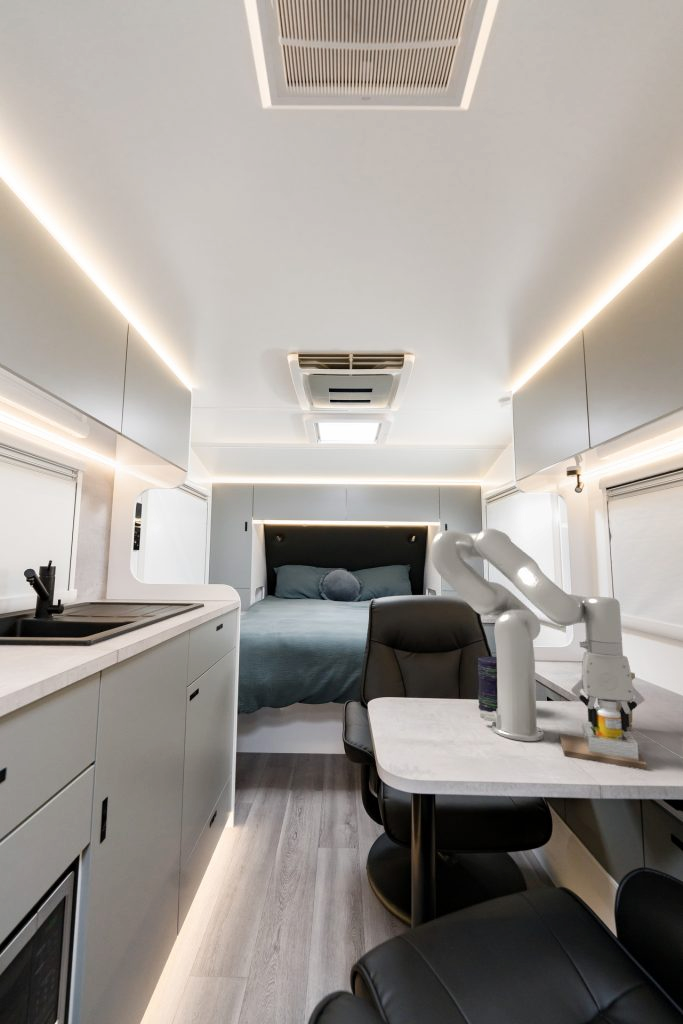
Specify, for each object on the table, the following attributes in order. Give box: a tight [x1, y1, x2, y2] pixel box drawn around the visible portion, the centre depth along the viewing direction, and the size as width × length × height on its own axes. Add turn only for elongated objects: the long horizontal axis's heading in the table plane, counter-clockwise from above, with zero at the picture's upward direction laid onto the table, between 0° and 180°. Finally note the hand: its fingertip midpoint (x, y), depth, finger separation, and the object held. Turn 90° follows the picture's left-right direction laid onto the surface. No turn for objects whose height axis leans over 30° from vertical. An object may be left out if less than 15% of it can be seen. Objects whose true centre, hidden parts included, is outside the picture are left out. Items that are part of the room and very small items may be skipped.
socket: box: [581, 723, 639, 761], centre depth 100 cm, size 10×10×4 cm
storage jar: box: [477, 655, 498, 712], centre depth 132 cm, size 10×10×15 cm
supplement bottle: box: [594, 698, 623, 740], centre depth 101 cm, size 5×5×10 cm
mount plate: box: [558, 732, 648, 771], centre depth 101 cm, size 16×12×1 cm
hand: (608, 726), depth 101 cm, fingers closed on supplement bottle, 5 cm apart
